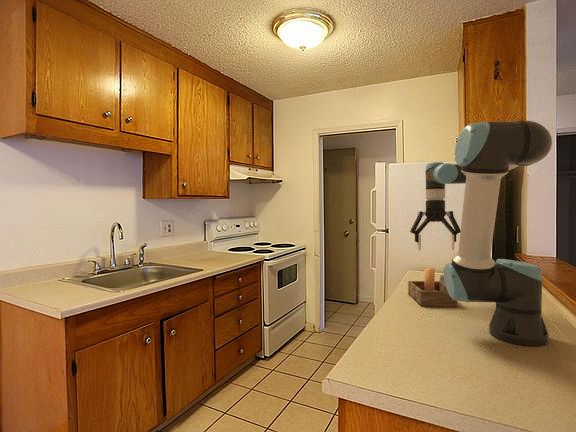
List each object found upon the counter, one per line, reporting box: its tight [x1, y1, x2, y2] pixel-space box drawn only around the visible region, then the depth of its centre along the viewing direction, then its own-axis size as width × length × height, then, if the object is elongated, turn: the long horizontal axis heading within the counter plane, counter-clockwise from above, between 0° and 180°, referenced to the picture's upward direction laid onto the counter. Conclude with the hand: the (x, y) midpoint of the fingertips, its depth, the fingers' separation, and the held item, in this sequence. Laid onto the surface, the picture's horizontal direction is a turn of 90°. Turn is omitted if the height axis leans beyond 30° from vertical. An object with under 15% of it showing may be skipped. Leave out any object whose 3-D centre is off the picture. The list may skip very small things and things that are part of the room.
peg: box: [423, 267, 436, 291], centre depth 144 cm, size 4×4×12 cm
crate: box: [407, 280, 458, 308], centre depth 142 cm, size 18×14×6 cm
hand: (435, 250), depth 142 cm, fingers open, 13 cm apart
